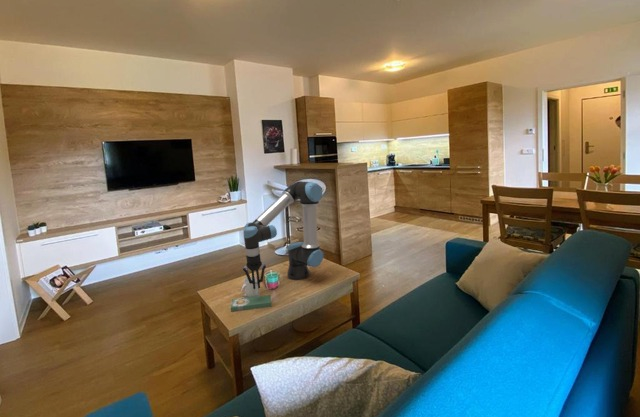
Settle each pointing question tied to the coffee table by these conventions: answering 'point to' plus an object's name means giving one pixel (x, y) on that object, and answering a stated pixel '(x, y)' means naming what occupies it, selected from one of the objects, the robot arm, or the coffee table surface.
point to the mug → (249, 288)
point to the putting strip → (251, 303)
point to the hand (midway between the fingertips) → (257, 293)
